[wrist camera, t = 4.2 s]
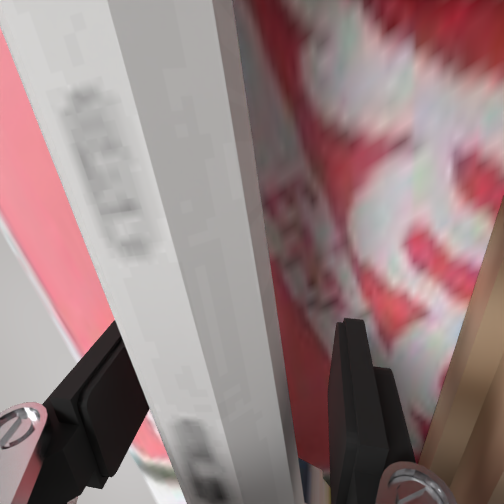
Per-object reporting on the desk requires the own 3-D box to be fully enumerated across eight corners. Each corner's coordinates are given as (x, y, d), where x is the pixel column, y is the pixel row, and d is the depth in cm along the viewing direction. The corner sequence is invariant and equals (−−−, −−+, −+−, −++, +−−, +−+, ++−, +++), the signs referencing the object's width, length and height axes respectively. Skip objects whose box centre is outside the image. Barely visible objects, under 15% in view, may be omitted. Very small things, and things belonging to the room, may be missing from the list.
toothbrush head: (109, -972, 2) (379, 840, 9) (269, -141, 8) (357, 557, 15) (-345, -452, 3) (201, 787, 10) (89, -69, 10) (246, 545, 17)
